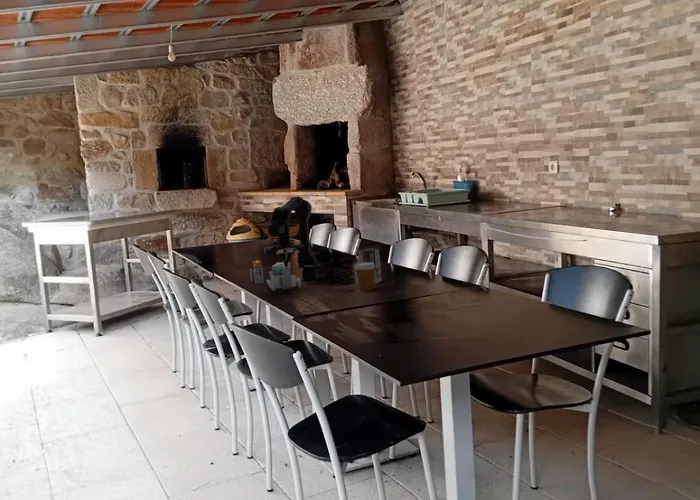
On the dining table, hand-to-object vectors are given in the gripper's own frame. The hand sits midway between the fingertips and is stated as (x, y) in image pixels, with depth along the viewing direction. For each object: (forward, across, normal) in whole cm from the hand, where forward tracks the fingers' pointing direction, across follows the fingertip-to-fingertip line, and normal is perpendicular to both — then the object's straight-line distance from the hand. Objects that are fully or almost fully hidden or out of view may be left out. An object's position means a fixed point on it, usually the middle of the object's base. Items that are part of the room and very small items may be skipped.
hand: (286, 266), depth 310 cm
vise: (+11, +3, -21) cm, 24 cm away
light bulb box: (+12, 0, -16) cm, 20 cm away
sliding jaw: (+11, 0, -6) cm, 13 cm away
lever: (+5, +10, -32) cm, 34 cm away
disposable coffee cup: (+12, -33, +19) cm, 40 cm away
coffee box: (+12, -40, +4) cm, 42 cm away
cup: (+11, -22, -133) cm, 135 cm away
